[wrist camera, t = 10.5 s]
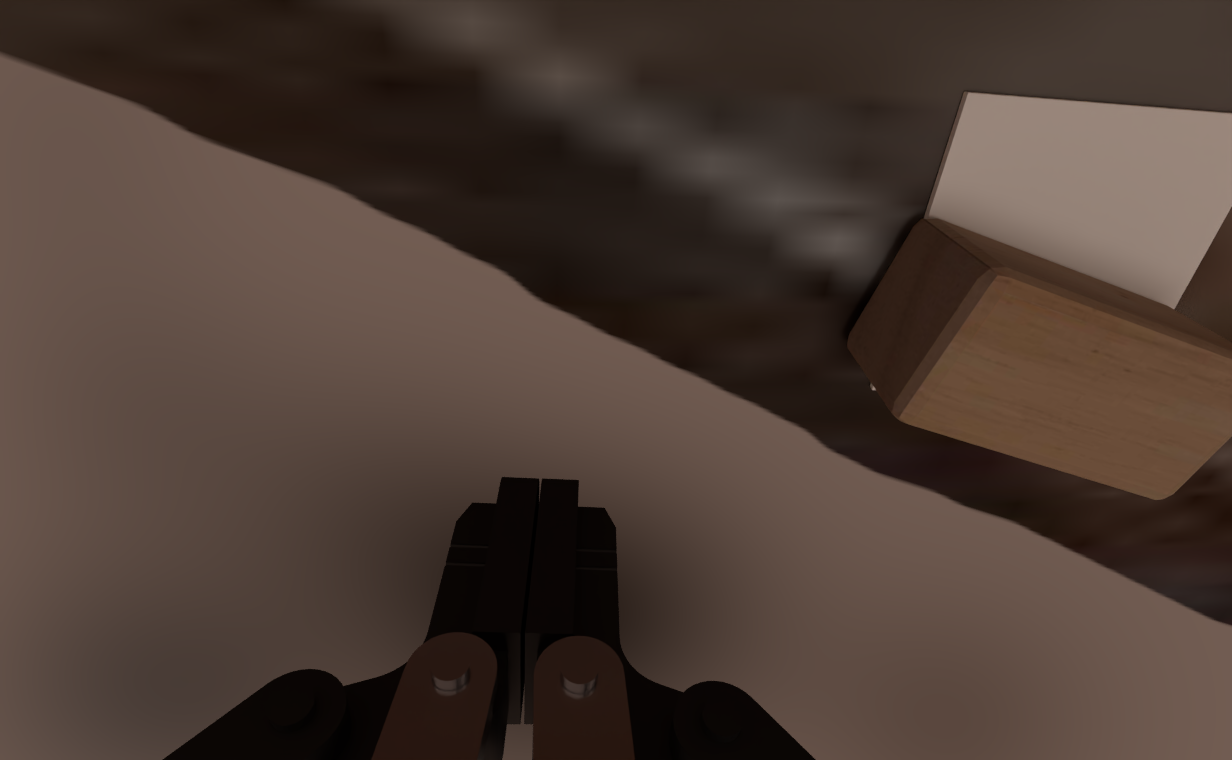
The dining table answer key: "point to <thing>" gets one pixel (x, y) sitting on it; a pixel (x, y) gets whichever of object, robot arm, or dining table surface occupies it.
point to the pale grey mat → (1090, 185)
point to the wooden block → (1043, 362)
